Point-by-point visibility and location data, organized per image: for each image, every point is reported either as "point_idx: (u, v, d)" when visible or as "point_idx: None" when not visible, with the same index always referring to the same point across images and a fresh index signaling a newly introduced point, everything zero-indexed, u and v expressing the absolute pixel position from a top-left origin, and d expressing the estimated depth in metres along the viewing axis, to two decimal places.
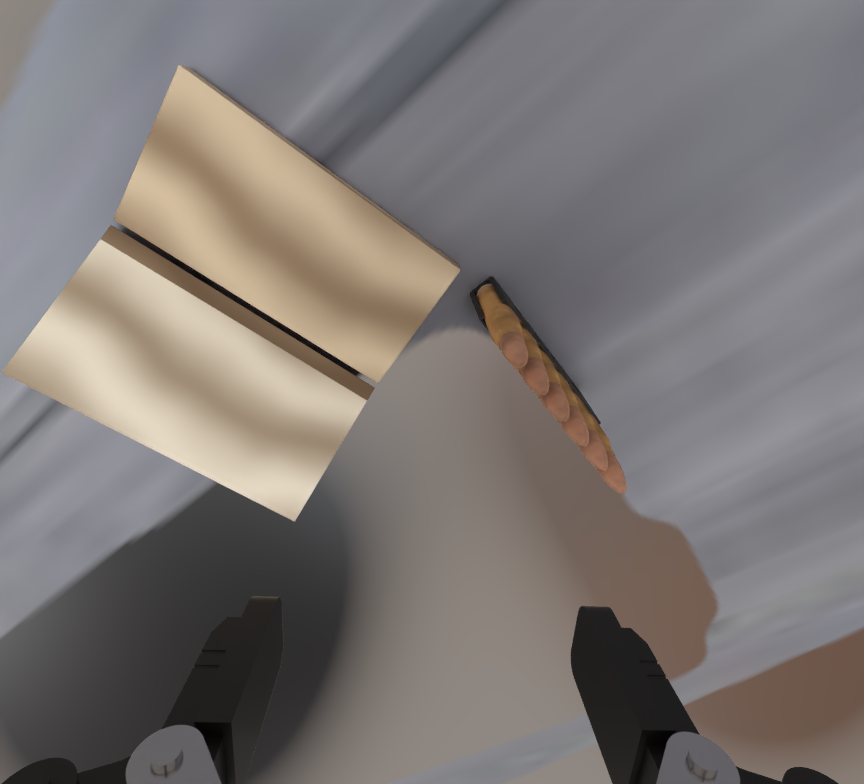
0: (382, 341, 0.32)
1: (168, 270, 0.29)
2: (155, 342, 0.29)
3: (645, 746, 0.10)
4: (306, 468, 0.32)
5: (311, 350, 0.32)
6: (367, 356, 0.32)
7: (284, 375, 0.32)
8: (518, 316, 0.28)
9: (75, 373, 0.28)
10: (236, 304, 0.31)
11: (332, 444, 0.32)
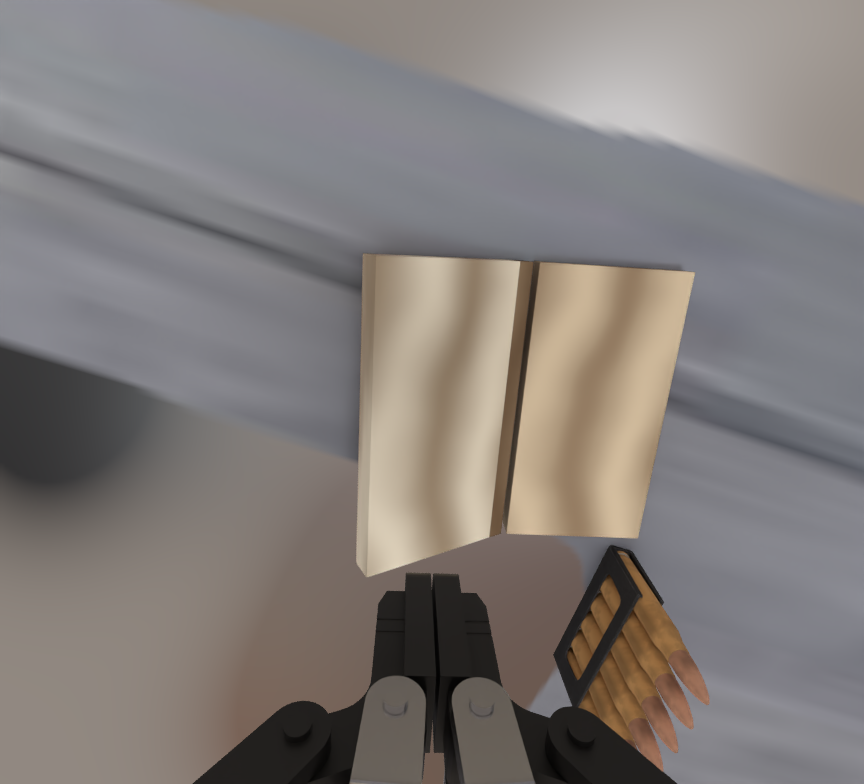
0: (547, 517, 0.34)
1: (519, 327, 0.29)
2: (461, 359, 0.28)
3: (445, 691, 0.11)
4: (416, 546, 0.30)
5: (507, 470, 0.32)
6: (527, 513, 0.34)
7: (480, 469, 0.31)
8: None
9: (405, 317, 0.25)
10: (516, 393, 0.31)
11: (444, 545, 0.31)
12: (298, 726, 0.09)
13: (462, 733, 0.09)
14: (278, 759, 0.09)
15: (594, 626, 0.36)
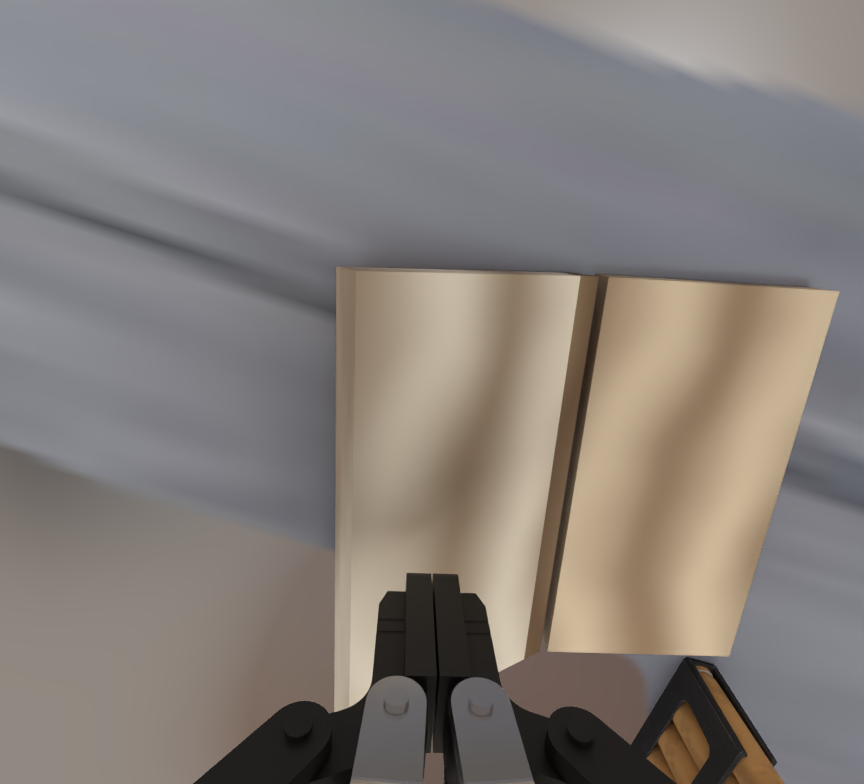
0: (605, 630, 0.24)
1: (575, 372, 0.20)
2: (491, 425, 0.18)
3: (445, 691, 0.11)
4: None
5: (551, 569, 0.23)
6: (577, 625, 0.24)
7: (515, 573, 0.22)
8: None
9: (406, 369, 0.16)
10: (567, 465, 0.21)
11: None
12: (299, 726, 0.09)
13: (461, 733, 0.09)
14: (279, 759, 0.09)
15: (665, 770, 0.26)
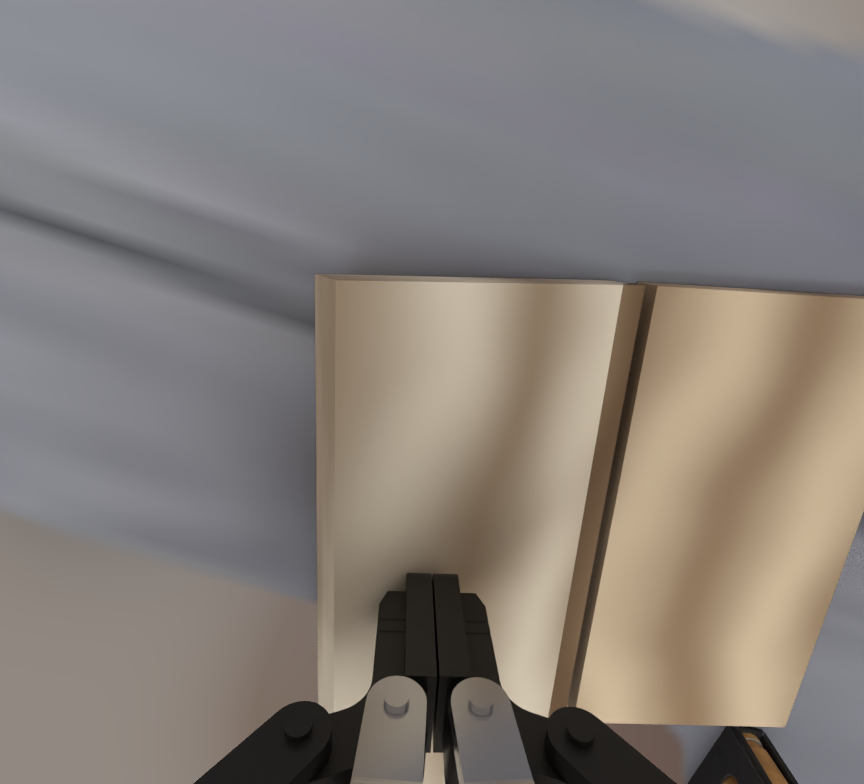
0: (641, 698, 0.21)
1: (613, 401, 0.16)
2: (510, 468, 0.15)
3: (444, 691, 0.11)
4: (423, 779, 0.17)
5: (579, 630, 0.19)
6: (608, 692, 0.20)
7: (536, 638, 0.18)
8: None
9: (403, 404, 0.12)
10: (601, 511, 0.18)
11: None
12: (299, 726, 0.09)
13: (461, 733, 0.09)
14: (279, 759, 0.09)
15: None
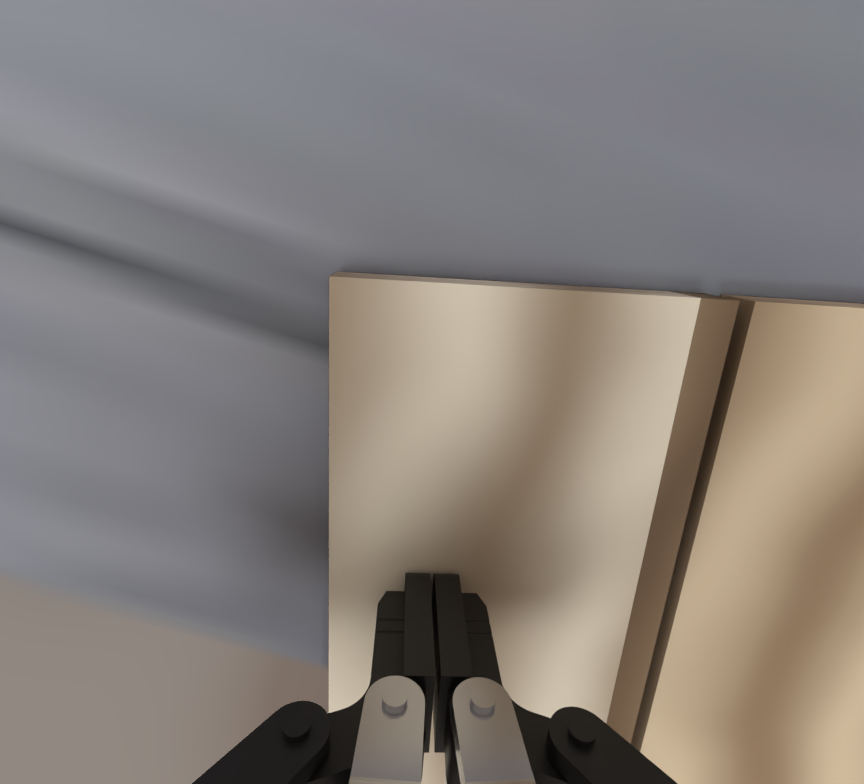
0: None
1: (687, 440, 0.13)
2: (532, 492, 0.14)
3: (446, 691, 0.11)
4: None
5: (636, 709, 0.16)
6: None
7: (571, 696, 0.16)
8: None
9: (400, 401, 0.12)
10: (669, 572, 0.15)
11: None
12: (297, 726, 0.09)
13: (463, 733, 0.09)
14: (277, 759, 0.09)
15: None
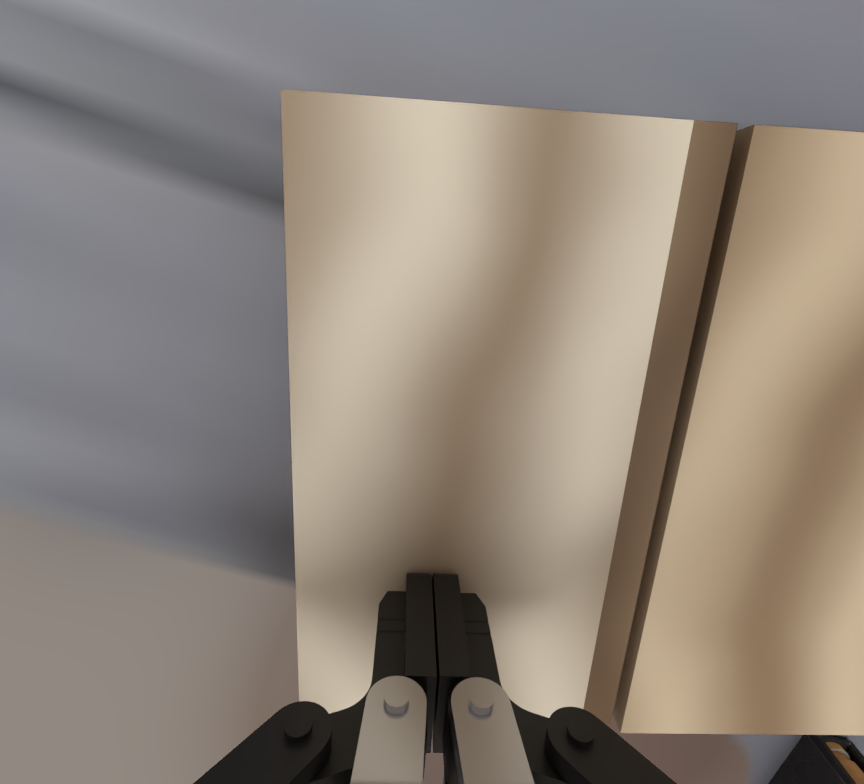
0: (707, 701, 0.16)
1: (681, 294, 0.12)
2: (511, 353, 0.12)
3: (445, 692, 0.11)
4: None
5: (631, 613, 0.15)
6: (666, 694, 0.16)
7: (559, 596, 0.15)
8: None
9: (363, 242, 0.11)
10: (664, 451, 0.13)
11: None
12: (299, 726, 0.09)
13: (461, 733, 0.09)
14: (279, 759, 0.09)
15: None
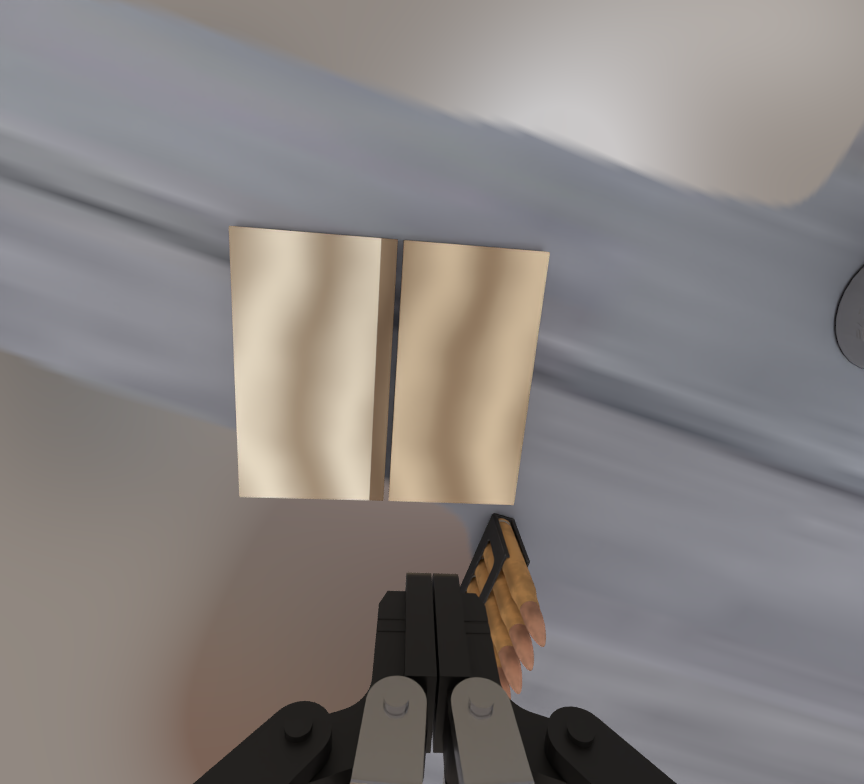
0: (426, 485, 0.36)
1: (386, 301, 0.31)
2: (321, 323, 0.32)
3: (445, 691, 0.11)
4: (286, 484, 0.35)
5: (385, 439, 0.34)
6: (407, 480, 0.35)
7: (352, 430, 0.34)
8: None
9: (260, 279, 0.30)
10: (389, 365, 0.33)
11: (317, 493, 0.35)
12: (299, 727, 0.09)
13: (461, 733, 0.09)
14: (279, 759, 0.09)
15: (476, 589, 0.38)
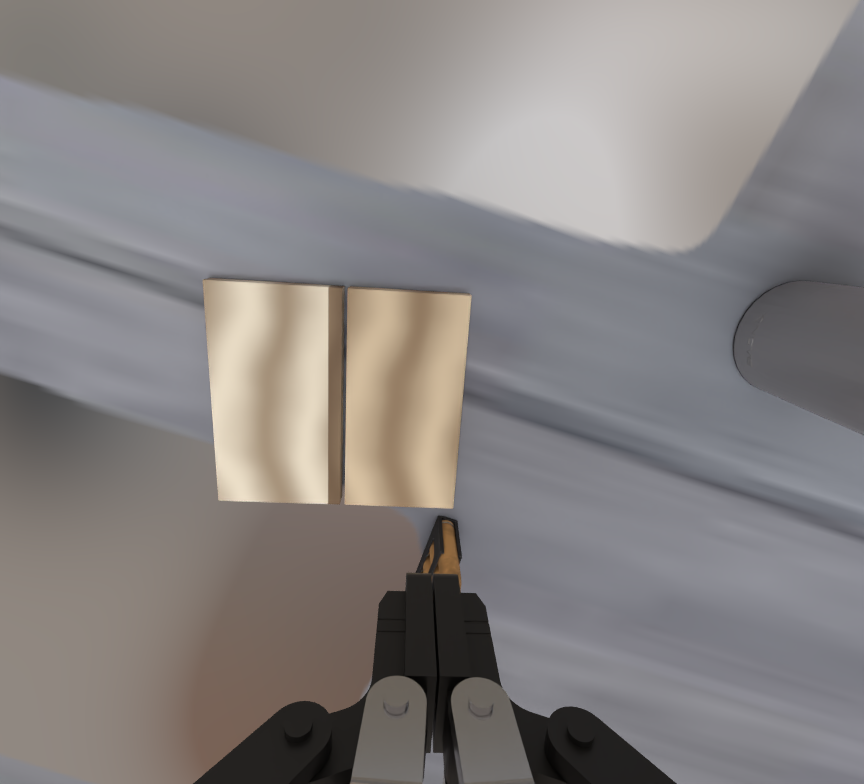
0: (376, 491, 0.42)
1: (334, 338, 0.38)
2: (281, 356, 0.38)
3: (445, 691, 0.11)
4: (257, 490, 0.41)
5: (339, 452, 0.40)
6: (359, 487, 0.41)
7: (311, 444, 0.40)
8: None
9: (229, 322, 0.37)
10: (339, 390, 0.39)
11: (283, 497, 0.41)
12: (299, 727, 0.09)
13: (461, 733, 0.09)
14: (279, 759, 0.09)
15: None
